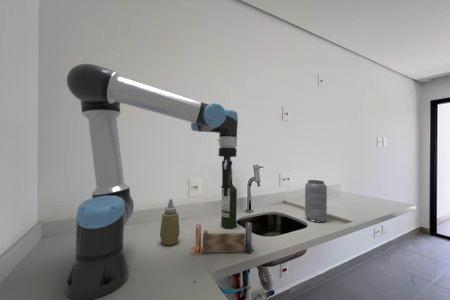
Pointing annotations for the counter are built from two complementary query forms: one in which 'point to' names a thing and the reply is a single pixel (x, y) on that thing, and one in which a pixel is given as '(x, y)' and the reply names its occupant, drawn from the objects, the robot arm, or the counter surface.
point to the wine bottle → (229, 208)
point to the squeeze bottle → (170, 225)
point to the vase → (316, 200)
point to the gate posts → (247, 240)
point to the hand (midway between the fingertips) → (225, 203)
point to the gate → (223, 242)
